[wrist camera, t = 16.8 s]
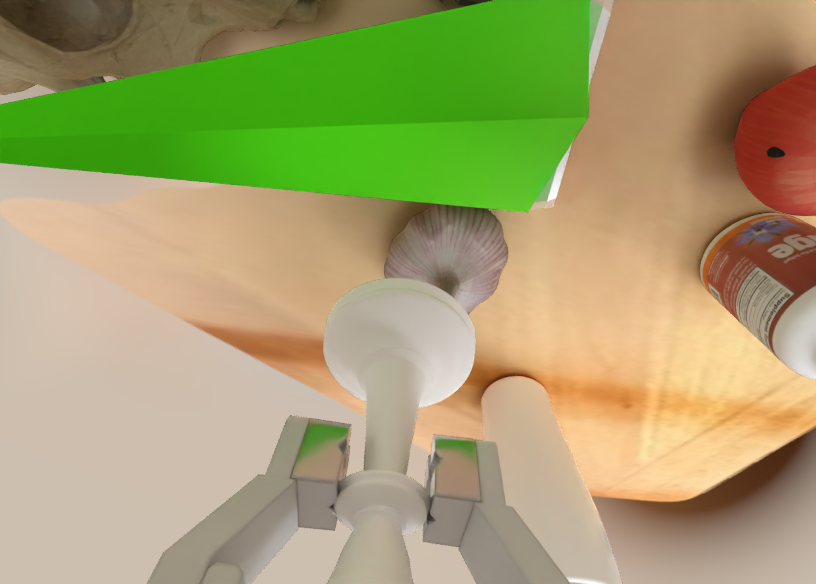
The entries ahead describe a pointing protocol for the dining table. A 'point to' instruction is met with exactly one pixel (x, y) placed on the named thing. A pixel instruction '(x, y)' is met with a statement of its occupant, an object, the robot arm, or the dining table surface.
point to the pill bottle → (769, 283)
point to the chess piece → (391, 411)
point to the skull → (121, 36)
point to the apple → (781, 145)
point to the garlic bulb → (451, 252)
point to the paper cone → (348, 111)
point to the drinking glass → (546, 480)
